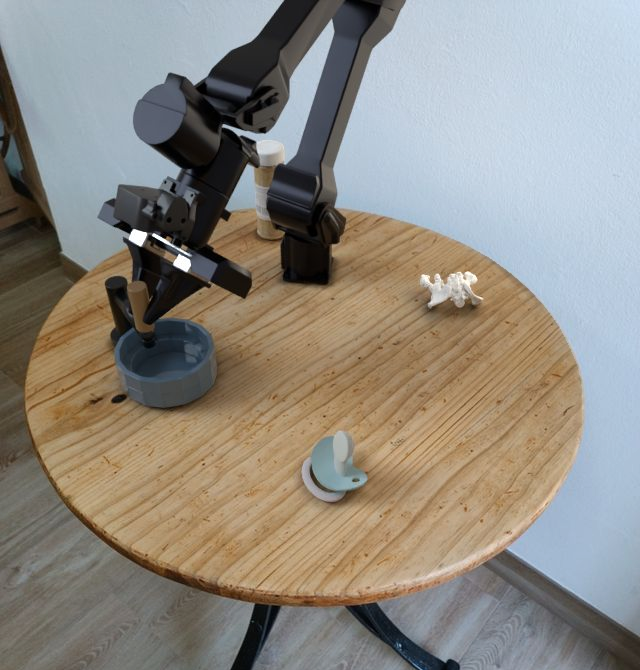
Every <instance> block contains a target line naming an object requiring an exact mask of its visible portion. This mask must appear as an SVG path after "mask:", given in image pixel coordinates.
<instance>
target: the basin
mask: <svg viewBox="0 0 640 670" xmlns="http://www.w3.org/2000/svg"><path fill="white" fill-rule="evenodd" d="M154 324H155V327H154V330H155V336H154V338H155V343H156V344H155V346H154V347H153V348H145V347H144V346H143V343H142V339H141V338H140V337H139V335H138V334H137V332H136V331H135V329H134V328H132V329H130V330H129V331H128V332H127V333H125V334H124V335H123V336H122V337H121V338H120V339H119V341H118V343H117V345H116V347H114V349H113V353H114V354H113V355H114V363H115V367H116V372H117V374H118V379H119V383H120V386H121V388H122V390H123V391H124V392H125V394H126V395H127V396H128V397H129V399H130V400H132V401H135V402H137V403H139V404H141V405H143V406H145V407H154V408H163V409H164V408H165V409H166V408H172V407H177V406H183V405H186V404H189V403H191V402H193V401H196V400H198V399H199V398H201V397H203V396H204V395H205V394H206V393H207V392H208V391H209V390H210V389H211V388H212V387H213V386H214V384H215V381H216V378H217V376H218V363H217V355H216V348H215V343H214V339H213V335H212V334H211V333H210V332H209V331H208V330H207V329H206V328H205V327H204V326H203V325H202V324H200V323H197V322H195V321H192V320H190V319H187V318H179V317H164V318H162V317H161V318H160V319H158V320H157V321H156V322H154Z"/></svg>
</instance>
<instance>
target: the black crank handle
mask: <svg viewBox="0 0 640 670" xmlns="http://www.w3.org/2000/svg"><path fill="white" fill-rule="evenodd" d="M104 288H105V291H106V294H107V299H108V303H109V307H110V311H111V315H112V319H113V323H114V326H115V327H116V331H117V335H118V336H119V337H120V338H121V337H122V336H123V335H124V334H125V333H127V332H128V331H129V330H130V329H132V328H134V329H135V331H136V332H137V334H138V335H139V337H140V338H141V339H142V343H143V346H144V347H145V348H153V347H154V346H155V344H156V343H155V338H154V336H155V330H154V327H155V324H154V323H153V324H152V325H147V324H145V323H143V318H144V315H145V312H146V309H147V307H148V305H149V302H150V300H151V299H149V295H148V290H147V285H146V283H145V282H143V281H134V282H130V283H129V282H128V279H127V277H125V276H122V275H113V276H110V277H108V278H107V279H106V280H105V281H104ZM129 299H130V303H131V307H132V312H133V315H131V314H129V313H128V308H129ZM115 327H114V328H115Z"/></svg>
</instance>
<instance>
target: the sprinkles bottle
mask: <svg viewBox="0 0 640 670" xmlns="http://www.w3.org/2000/svg"><path fill="white" fill-rule="evenodd" d="M256 142H257V152H258V155H259V158H260V166H259V168H255V167H253V176H254V180H253V183H254V199H255V213H256V214H255V215H256V220H257V229H256V233H257V235H258V236H259V237H260V238H262V239H266V240H271V241H273V240H278V239H282V238H283V235H284V234H285V232H282V231H280V230H275V229H274V228H273V225H272V222H271V219H270V217H269V214H268V211H267V209H266V199H267V196H268V195H267V191H268V190H269V188H270V185H271V183H272V179H273V175H274V170H275V168H276V167H277V165H278V164H279V163H282V164H284V163H285V159H286V151H285V146H284V144H283V143H282V142H280V141H278V140H274V139H263V140H259V141H256Z"/></svg>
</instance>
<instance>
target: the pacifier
mask: <svg viewBox="0 0 640 670" xmlns="http://www.w3.org/2000/svg"><path fill="white" fill-rule="evenodd" d="M354 451H355V440H354V438H353V436H352V435H351V434H350V433H349V432H348V431H346V430H338V431H336V432H335V434H334V435H328V436H325V437H323V438H321V439H320V440H319V441H317V442H316V444H315V445H314V446H313V448H312V451H311V454H310V455H311V456H308V457H307V458H306V459H305V460H304V461H303V463H302V466H301V478H302V481H303V483H304V485H305V487H306V488H307V490H308V491H309V493H310V494H312V495H313V496H314V497H316V498H317V499H318V500H321V501H324V502H327V503H335V502H338V501H340V500H342V499H343V497H344V496H345V495H346V493H347V492H349V491H353V490H357V489H360V488H362V487H363V486H364V485H365V484H366V483H367V481H368V475H367V473H366V472H365V471H363V469H361V468H359V467H356V466H354V465H353V462H354V456H353V455H354ZM311 469H312V472H313V474H314V477H315V478H316V480H317V481H318V483H320V485H321V486H322V487H324V488H326V489H328V490H330V491H333V492H327V491H324V490H322V489H321V488H319V487H318V486H317V485H316V484H315V482H314V480H313V479H312V476H311ZM353 480H358V481H353Z"/></svg>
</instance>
